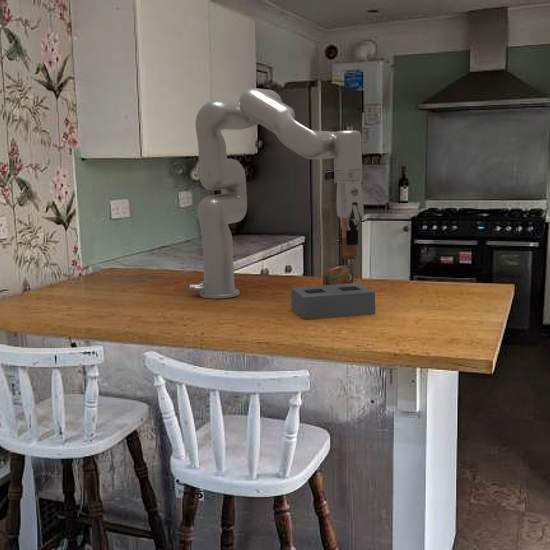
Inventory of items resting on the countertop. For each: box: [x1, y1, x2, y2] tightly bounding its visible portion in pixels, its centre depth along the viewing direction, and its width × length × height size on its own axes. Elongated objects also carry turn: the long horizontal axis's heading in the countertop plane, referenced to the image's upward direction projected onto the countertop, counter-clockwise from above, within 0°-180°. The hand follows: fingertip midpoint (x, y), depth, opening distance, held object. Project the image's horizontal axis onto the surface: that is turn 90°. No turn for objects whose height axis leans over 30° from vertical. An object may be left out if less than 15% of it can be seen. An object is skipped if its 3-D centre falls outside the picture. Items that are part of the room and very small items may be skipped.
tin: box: [322, 264, 354, 286], centre depth 217 cm, size 15×3×8 cm, turn 144°
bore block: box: [290, 282, 376, 320], centre depth 193 cm, size 20×14×6 cm
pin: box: [341, 216, 358, 261], centre depth 191 cm, size 4×4×12 cm
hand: (349, 243), depth 191 cm, fingers closed on pin, 4 cm apart
